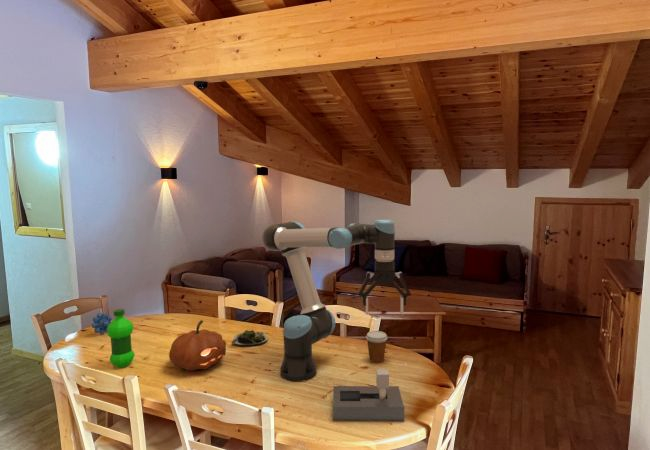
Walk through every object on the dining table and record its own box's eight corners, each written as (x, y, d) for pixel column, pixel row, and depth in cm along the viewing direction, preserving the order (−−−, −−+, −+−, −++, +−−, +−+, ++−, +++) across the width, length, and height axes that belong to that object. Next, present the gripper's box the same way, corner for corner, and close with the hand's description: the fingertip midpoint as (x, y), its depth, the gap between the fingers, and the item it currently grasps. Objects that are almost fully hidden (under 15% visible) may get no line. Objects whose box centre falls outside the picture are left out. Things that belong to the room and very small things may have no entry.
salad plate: (231, 334, 220) (231, 326, 220) (265, 331, 224) (265, 323, 223) (231, 349, 201) (231, 340, 201) (268, 345, 205) (268, 336, 205)
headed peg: (376, 413, 145) (376, 375, 143) (374, 405, 150) (374, 368, 148) (390, 413, 145) (390, 375, 143) (388, 405, 150) (388, 368, 148)
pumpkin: (213, 379, 170) (211, 335, 168) (157, 375, 174) (155, 332, 172) (236, 354, 195) (234, 315, 193) (186, 351, 199) (184, 313, 197)
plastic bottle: (104, 368, 182) (100, 313, 179) (123, 358, 191) (119, 305, 188) (122, 371, 178) (118, 315, 175) (140, 361, 188) (137, 308, 185)
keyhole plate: (332, 420, 141) (332, 406, 140) (333, 398, 155) (333, 385, 154) (404, 421, 140) (404, 407, 139) (398, 399, 154) (398, 386, 153)
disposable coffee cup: (386, 365, 181) (386, 339, 180) (364, 363, 183) (364, 337, 182) (387, 356, 191) (388, 331, 189) (367, 354, 192) (367, 329, 191)
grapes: (98, 339, 215) (96, 316, 213) (89, 337, 218) (88, 315, 216) (118, 331, 225) (116, 310, 224) (109, 329, 228) (107, 308, 227)
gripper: (352, 262, 157) (352, 316, 159) (419, 261, 156) (418, 316, 159) (351, 258, 164) (352, 310, 167) (415, 257, 164) (414, 310, 166)
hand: (384, 313), depth 163 cm, fingers open, 13 cm apart
